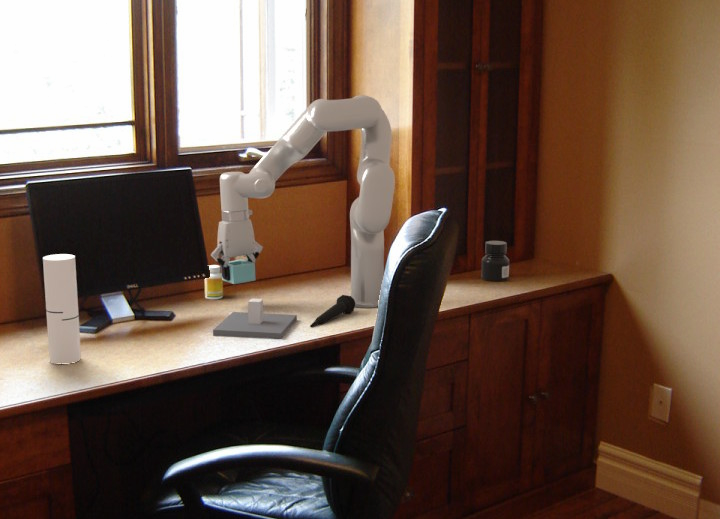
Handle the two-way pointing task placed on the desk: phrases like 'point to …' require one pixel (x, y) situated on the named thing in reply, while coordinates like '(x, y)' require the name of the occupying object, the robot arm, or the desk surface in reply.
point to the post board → (255, 323)
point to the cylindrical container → (62, 308)
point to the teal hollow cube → (241, 271)
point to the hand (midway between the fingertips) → (238, 277)
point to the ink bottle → (495, 262)
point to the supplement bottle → (214, 283)
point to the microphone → (336, 310)
